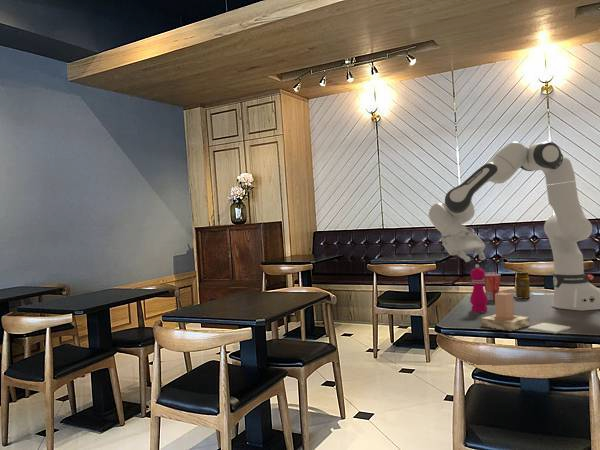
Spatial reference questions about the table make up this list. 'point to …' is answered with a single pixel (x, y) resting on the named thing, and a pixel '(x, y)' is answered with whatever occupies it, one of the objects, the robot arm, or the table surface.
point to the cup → (491, 285)
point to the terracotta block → (504, 306)
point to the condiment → (522, 285)
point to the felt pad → (549, 327)
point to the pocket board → (505, 322)
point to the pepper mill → (478, 290)
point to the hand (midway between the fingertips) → (476, 259)
